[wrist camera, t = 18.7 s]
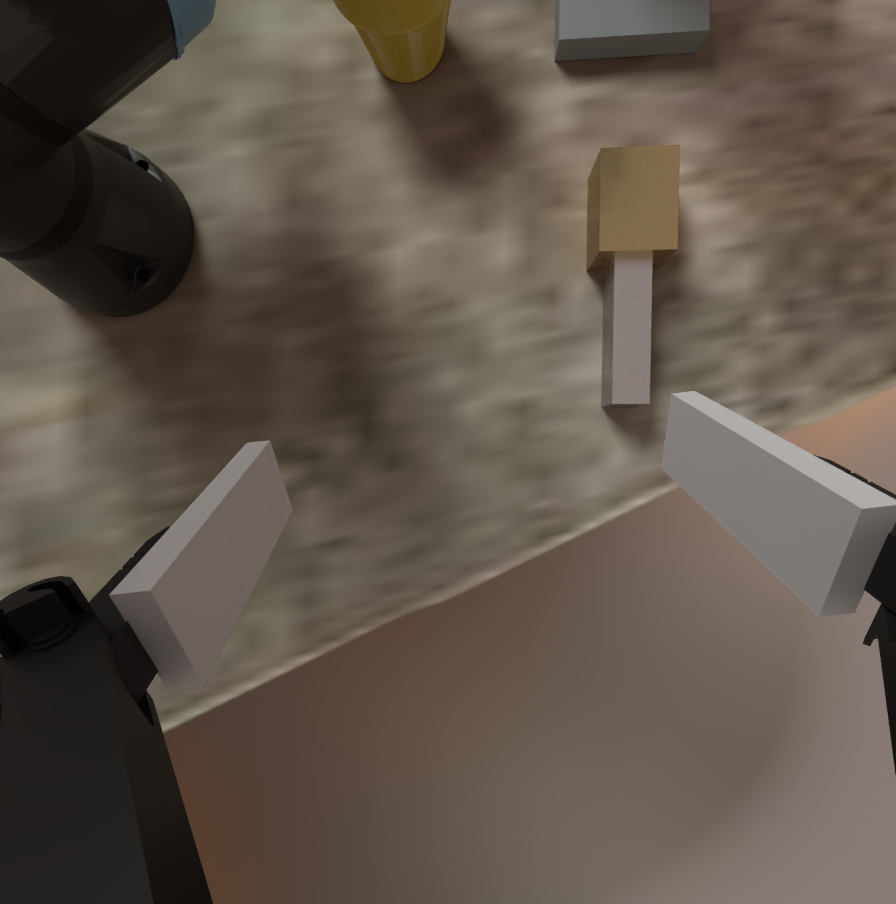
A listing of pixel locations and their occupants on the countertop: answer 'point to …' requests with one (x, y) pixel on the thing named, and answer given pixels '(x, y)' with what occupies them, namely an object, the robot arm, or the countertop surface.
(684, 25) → the press stand
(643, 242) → the metal block
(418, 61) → the plant pot
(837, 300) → the countertop surface
